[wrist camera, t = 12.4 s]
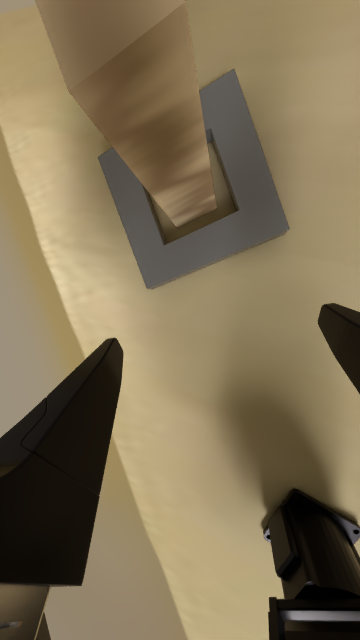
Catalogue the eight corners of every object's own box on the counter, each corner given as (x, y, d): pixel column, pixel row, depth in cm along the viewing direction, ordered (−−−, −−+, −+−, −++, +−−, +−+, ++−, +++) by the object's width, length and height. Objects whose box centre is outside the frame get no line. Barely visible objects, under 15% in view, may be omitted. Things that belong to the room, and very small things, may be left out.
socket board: (233, 86, 18) (234, 68, 16) (284, 234, 18) (289, 228, 17) (106, 166, 21) (97, 156, 20) (152, 289, 21) (146, 288, 20)
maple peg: (202, 166, 19) (132, -152, 5) (216, 208, 19) (185, 1, 6) (162, 187, 20) (22, -35, 6) (176, 227, 20) (68, 91, 7)
